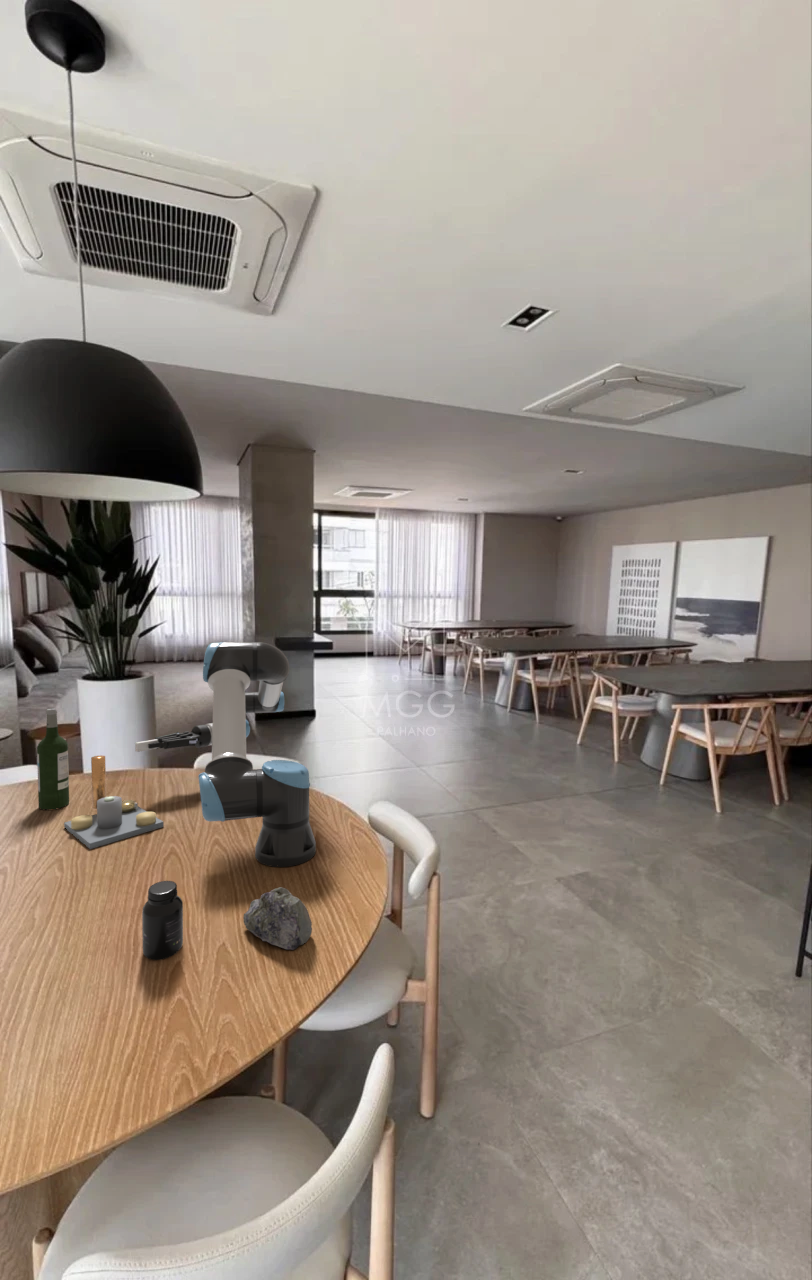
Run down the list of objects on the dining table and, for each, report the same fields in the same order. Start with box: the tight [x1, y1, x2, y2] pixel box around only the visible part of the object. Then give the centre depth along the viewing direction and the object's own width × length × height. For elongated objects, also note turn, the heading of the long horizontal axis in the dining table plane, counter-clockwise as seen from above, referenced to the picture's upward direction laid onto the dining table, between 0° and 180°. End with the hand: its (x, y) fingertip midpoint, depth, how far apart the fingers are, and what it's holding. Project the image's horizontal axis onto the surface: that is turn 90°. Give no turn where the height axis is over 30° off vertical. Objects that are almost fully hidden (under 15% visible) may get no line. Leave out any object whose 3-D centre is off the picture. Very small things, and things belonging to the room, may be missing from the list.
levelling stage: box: [63, 795, 165, 850], centre depth 152 cm, size 19×19×9 cm
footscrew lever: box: [90, 754, 139, 812], centre depth 160 cm, size 13×5×16 cm, turn 91°
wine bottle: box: [36, 708, 70, 810], centre depth 166 cm, size 8×8×30 cm
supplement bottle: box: [141, 880, 184, 961], centre depth 100 cm, size 7×7×12 cm
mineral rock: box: [243, 887, 313, 951], centre depth 105 cm, size 13×11×10 cm
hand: (136, 747), depth 170 cm, fingers closed
